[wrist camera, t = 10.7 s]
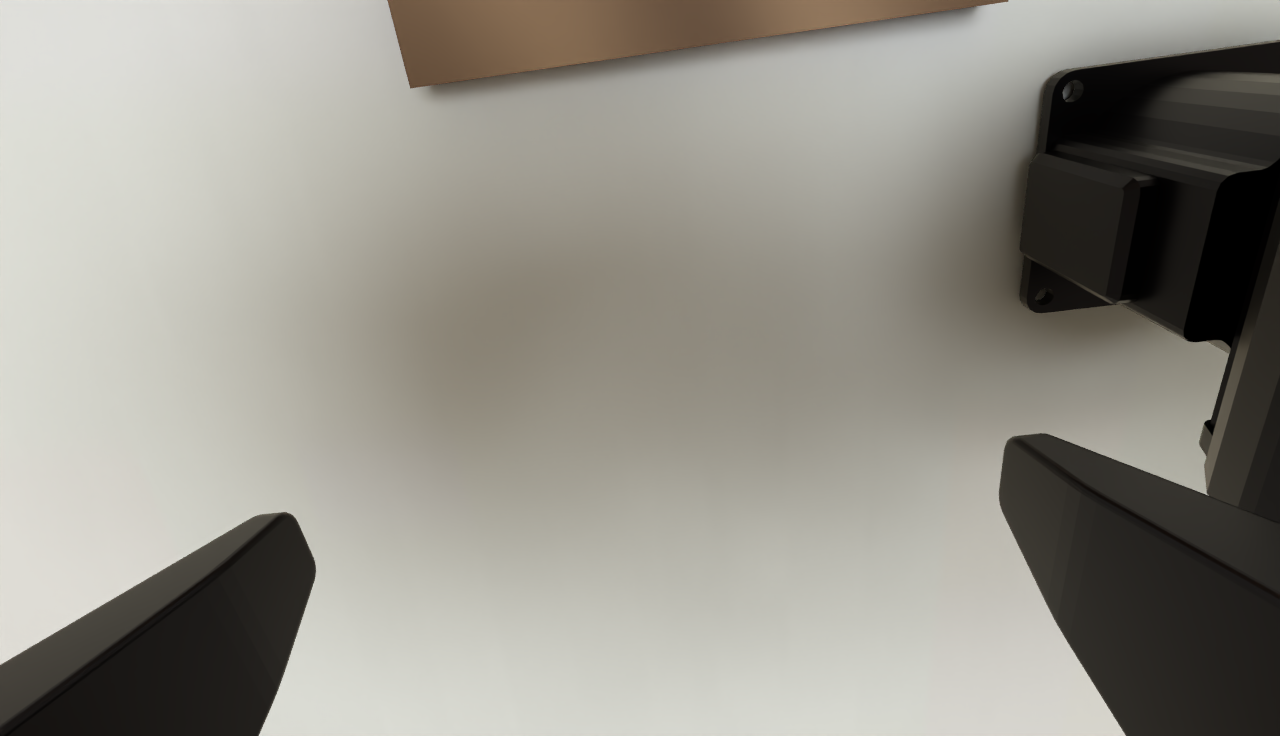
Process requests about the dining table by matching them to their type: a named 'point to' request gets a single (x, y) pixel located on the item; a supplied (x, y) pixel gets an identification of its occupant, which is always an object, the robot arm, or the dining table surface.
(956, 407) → the dining table surface
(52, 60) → the dining table surface
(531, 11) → the brown piece
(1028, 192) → the robot arm
